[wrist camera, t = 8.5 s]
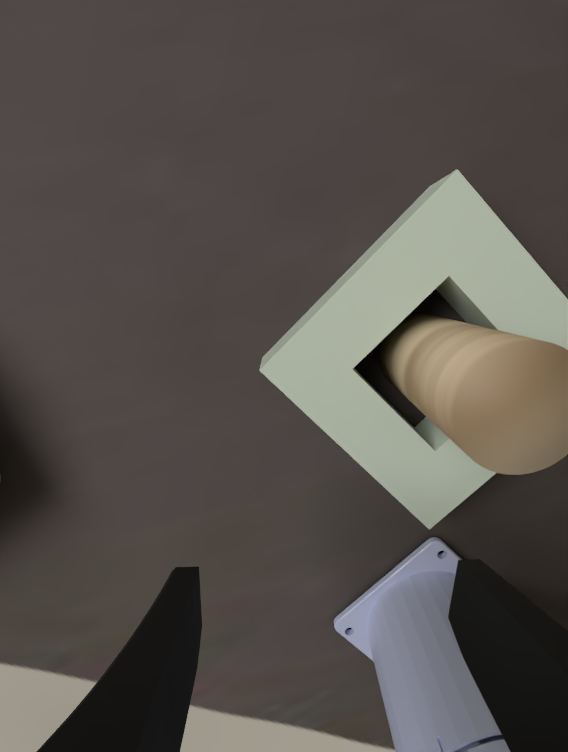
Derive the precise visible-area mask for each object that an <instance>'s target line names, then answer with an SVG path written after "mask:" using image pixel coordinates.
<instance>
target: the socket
mask: <svg viewBox="0 0 568 752" xmlns="http://www.w3.org/2000/svg"><path fill="white" fill-rule="evenodd" d="M435 289H436V290H437V291H438V292H439V293H440V294H441V295H442V297H443V298H444V299H445V300H446V301H447V302H448V303H449V304H450V305H451V306H452V307H453V309H454V310H455V311H456V312H457V313H458V314H459V315H460V316H461V317H462V318H463V319H464V320H465V322H466V323H469V324H473V325H478V326H482V327H486V328H490V329H495V330H499V331H503V332H507V333H512V334H516V335H520V336H524V337H529V338H533V339H537V340H541V341H546V342H550V343H553V344H556V345H559V346H561V347H563V348H565V349H567V350H568V299H567V298H566V297H565V296H564V295H563V293H562V292H561V291H560V290H559V289H558V287H557V286H556V285H555V284H554V283H553V282H552V280H551V279H550V278H549V277H548V276H547V274H546V273H545V272H544V271H543V270H542V269H541V267H540V266H539V265H538V264H537V263H536V262H535V260H534V259H533V258H532V257H531V256H530V254H529V253H528V252H527V251H526V250H525V249H524V247H523V246H522V245H521V244H520V243H519V241H518V240H517V239H516V238H515V237H514V236H513V234H512V233H511V232H510V231H509V230H508V229H507V227H506V226H505V225H504V224H503V223H502V221H501V220H500V219H499V218H498V217H497V216H496V214H495V213H494V212H493V211H492V210H491V208H490V207H489V206H488V205H487V204H486V203H485V201H484V200H483V199H482V198H481V197H480V196H479V194H478V193H477V192H476V191H475V190H474V188H473V187H472V186H471V185H470V184H469V183H468V181H467V180H466V179H465V178H464V177H463V175H462V174H461V173H460V172H459V171H458V170H455V171H454V172H452V173H450V174H449V175H447V176H446V177H444V178H442V179H441V180H439V181H438V182H436V183H434V184H433V185H431V186H430V187H429V188H428V189H427V190H426V191H425V192H424V193H423V194H422V195H421V196H420V197H419V198H418V199H417V200H416V201H415V202H414V203H413V204H412V205H411V206H410V207H409V208H408V209H407V210H406V211H405V212H404V213H403V214H402V215H401V216H400V217H399V218H398V219H397V220H396V221H395V222H394V223H393V224H392V225H391V226H390V227H389V228H388V230H387V231H386V232H385V233H384V234H383V235H382V236H381V237H380V238H379V239H378V240H377V241H376V242H375V243H374V244H373V245H372V246H371V247H370V248H369V249H368V250H367V251H366V252H365V253H364V254H363V255H362V256H361V257H360V258H359V259H358V260H357V261H356V262H355V263H354V264H353V265H352V266H351V267H350V268H349V269H348V270H347V271H346V272H345V273H344V275H343V276H342V277H341V278H340V279H339V280H338V281H337V282H336V283H335V284H334V285H333V286H332V287H331V288H330V289H329V290H328V291H327V292H326V293H325V294H324V295H323V296H322V297H321V298H320V299H319V300H318V301H317V302H316V303H315V304H314V305H313V306H312V307H311V308H310V309H309V310H308V311H307V312H306V313H305V314H304V315H303V316H302V317H301V319H300V320H299V321H298V322H297V323H296V324H295V325H294V326H293V327H292V328H291V329H290V330H289V331H288V332H287V333H286V334H285V335H284V336H283V337H282V338H281V339H280V340H279V341H278V342H277V343H276V344H275V345H274V346H273V347H272V348H271V349H270V350H269V351H268V352H267V353H266V354H265V355H264V356H263V357H262V362H261V366H260V370H259V371H260V372H262V373H263V374H264V375H265V376H266V377H267V378H268V379H269V380H270V381H271V382H272V383H273V384H274V385H275V386H277V387H278V388H279V389H280V390H281V391H282V392H283V393H284V394H285V395H286V396H287V397H288V398H289V399H290V400H291V401H293V402H294V403H295V404H296V405H297V406H298V407H299V408H300V409H301V410H302V411H303V412H304V413H305V414H306V415H307V416H309V417H310V418H311V419H312V420H313V421H314V422H315V423H316V424H317V425H318V426H319V427H320V428H321V429H322V430H323V431H325V432H326V433H327V434H328V435H329V436H330V437H331V438H332V439H333V440H334V441H335V442H336V443H337V444H338V445H339V446H341V447H342V448H343V449H344V450H345V451H346V452H347V453H348V454H349V455H350V456H351V457H352V458H353V459H354V460H355V461H357V462H358V463H359V464H360V465H361V466H362V467H363V468H364V469H365V470H366V471H367V472H368V473H369V474H370V475H371V476H373V477H374V478H375V479H376V480H377V481H378V482H379V483H380V484H381V485H382V486H383V487H384V488H385V489H386V490H388V491H389V492H390V493H391V494H392V495H393V496H394V497H395V498H396V499H397V500H398V501H399V502H400V503H401V504H402V505H404V506H405V507H406V508H407V509H408V510H409V511H410V512H411V513H412V514H413V515H414V516H415V517H416V518H417V519H418V520H420V521H421V522H422V523H423V524H424V525H425V526H426V527H427V528H428V529H429V530H430V529H431V528H432V527H433V526H434V525H435V524H437V523H438V522H439V521H440V520H441V519H443V518H444V517H445V516H446V515H447V514H448V513H450V512H451V511H452V510H453V509H454V508H456V507H457V506H458V505H459V504H460V503H461V502H463V501H464V500H465V499H466V498H467V497H469V496H470V495H471V494H472V493H473V492H474V491H476V490H477V489H478V488H479V487H480V486H482V485H483V484H484V483H485V482H486V481H487V480H489V479H490V478H491V477H492V476H493V475H495V474H496V472H493V471H490V470H488V469H486V468H484V467H482V466H480V465H479V464H477V463H476V462H474V461H473V460H472V459H471V458H470V457H469V456H468V455H467V454H466V453H465V452H463V451H462V450H461V449H460V448H459V447H458V446H457V445H456V444H455V443H454V442H453V441H452V440H451V439H450V438H449V437H448V436H446V435H445V434H444V433H443V432H442V431H441V430H440V429H439V428H438V427H437V426H436V425H435V424H434V423H433V422H432V421H431V420H430V419H428V418H427V417H425V418H424V419H423V420H422V421H421V422H420V423H419V424H418V425H417V426H415V427H413V426H412V425H411V424H410V423H409V422H408V421H407V420H406V419H405V418H404V417H403V416H402V415H401V414H400V413H399V412H398V411H397V410H396V409H395V408H394V407H393V406H392V405H391V404H390V403H389V402H388V401H387V400H386V399H385V398H384V397H383V396H382V395H381V394H380V393H379V392H378V391H377V390H376V389H375V388H374V387H373V386H372V385H371V384H370V383H369V382H368V381H367V380H366V379H365V378H364V377H363V376H362V375H361V374H360V373H359V372H358V371H356V370H355V369H354V367H355V366H356V365H357V364H358V363H359V362H360V361H361V360H362V359H363V358H364V357H366V356H367V355H368V354H369V353H370V352H371V351H372V350H373V349H374V348H375V347H376V346H377V345H378V344H379V343H380V342H381V341H382V340H383V339H384V338H385V337H386V336H387V335H388V334H389V333H390V332H391V331H392V330H393V329H394V328H395V327H397V326H398V325H399V324H400V323H401V322H402V321H403V320H404V319H405V318H406V317H407V316H408V315H409V314H410V313H411V312H412V311H413V310H414V309H415V308H416V307H417V306H418V305H419V304H420V303H421V302H422V301H423V300H424V299H425V298H427V297H428V296H429V295H430V294H431V293H432V292H433V291H434V290H435Z"/></svg>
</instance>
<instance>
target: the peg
mask: <svg viewBox="0 0 568 752" xmlns="http://www.w3.org/2000/svg"><path fill="white" fill-rule="evenodd" d="M380 365H381V369H382V371H383V373H384V375H385V377H386V378H387V379H388V381H389V382H390V383H391V384H392V385H394V386H395V387H396V388H397V389H398V390H399V391H400V392H401V393H402V394H403V395H404V396H405V397H406V398H407V399H408V400H409V401H410V402H412V403H413V404H414V405H415V406H416V407H417V408H418V409H419V410H420V411H421V412H422V413H423V414H424V415H425V416H426V417H427V418H428V419H430V420H431V421H432V422H433V423H434V424H435V425H436V426H437V427H438V428H439V429H440V430H441V431H442V432H443V433H444V434H445V435H446V436H448V437H449V438H450V439H451V440H452V441H453V442H454V443H455V444H456V445H457V446H458V447H459V448H460V449H461V450H462V451H463V452H465V453H466V454H467V455H468V456H469V457H470V458H471V459H472V460H473V461H474V462H476V463H477V464H479V465H480V466H482V467H484V468H486V469H488V470H490V471H493V472H496V473H501V474H507V475H521V474H528V473H533V472H536V471H540V470H542V469H545V468H547V467H549V466H551V465H553V464H555V463H557V462H558V461H560V460H561V459H562V458H564V457H565V456H566V455H567V454H568V350H567V349H565V348H563V347H561V346H559V345H556V344H553V343H550V342H546V341H541V340H537V339H533V338H529V337H524V336H520V335H516V334H512V333H507V332H503V331H499V330H495V329H490V328H486V327H482V326H478V325H473V324H469V323H465V322H460V321H456V320H452V319H448V318H443V317H439V316H435V315H430V314H415V315H411V316H408V317H406V318H405V319H404V320H403V321H402V322H401V323H400V324H399V325H398V326H397V327H395V328H394V329H393V330H392V331H391V332H390V333H389V334H388V335H387V336H386V337H385V338H384V339H383V341H382V344H381V348H380Z"/></svg>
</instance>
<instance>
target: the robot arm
mask: <svg viewBox="0 0 568 752" xmlns="http://www.w3.org/2000/svg"><path fill="white" fill-rule="evenodd" d="M440 551H444V552H443V553H442V554H438V552H440ZM334 627H335V630H336V631H337V632H338V633H340V634H341V635H342V636H343V637H344V638H346V639H347V640H348V641H349V642H350V643H352V644H353V645H354V646H355V647H357V648H358V649H359V650H360V651H361V652H363V653H364V654H365V655H366V656H367V657H369V658H370V659H371V660H372V661H373V662H374V664H375V668H376V673H377V677H378V681H379V685H380V689H381V693H382V697H383V701H384V705H385V709H386V714H387V718H388V722H389V726H390V730H391V734H392V738H393V742H394V746H395V751H396V752H568V630H566V629H565V628H564V627H562V626H561V625H560V624H558V623H557V622H556V621H555V620H553V619H552V618H551V617H550V616H548V615H547V614H546V613H545V612H543V611H542V610H541V609H540V608H538V607H537V606H536V605H535V604H533V603H532V602H531V601H530V600H529V599H527V598H526V597H525V596H524V595H522V594H521V593H520V592H519V591H518V590H516V589H515V588H514V587H513V586H512V585H510V584H509V583H508V582H507V581H505V580H504V579H503V578H502V577H501V576H499V575H498V574H497V573H496V572H495V571H493V570H492V569H491V568H490V567H488V566H487V565H486V564H484V563H483V562H482V561H481V560H479V559H478V560H462V559H461V558H460V557H459V556H458V555H457V554H456V553H455V552H454V551H453V550H452V549H450V548H449V547H448V546H447V545H446V544H445V543H444V542H443V541H442V540H441V539H439V538H437V537H433V538H430V539H428V540H427V541H426V542H424V543H423V544H422V545H421V546H420V547H418V548H417V549H416V550H415V551H414V552H413V553H411V554H410V555H409V556H408V557H407V558H405V559H404V560H403V561H402V562H401V563H399V564H398V565H397V566H396V567H395V568H394V569H392V570H391V571H390V572H389V573H388V574H386V575H385V576H384V577H383V578H382V579H380V580H379V581H378V582H377V583H376V584H375V585H373V586H372V587H371V588H370V589H369V590H367V591H366V592H365V593H364V594H363V595H361V596H360V597H359V598H358V599H357V600H356V601H354V602H353V603H352V604H351V605H350V606H348V607H347V608H346V609H345V610H344V611H342V612H341V613H340V614H339V615H338V616H337V617H336V618H335V619H334ZM347 628H351V629H350V630H346V629H347ZM201 629H202V618H201V599H200V580H199V567H176V568H175V569H174V570H173V571H172V572H171V574H170V576H169V578H168V579H167V581H166V583H165V585H164V587H163V588H162V590H161V592H160V593H159V595H158V597H157V598H156V600H155V602H154V603H153V605H152V606H151V608H150V610H149V611H148V613H147V614H146V616H145V617H144V619H143V620H142V622H141V623H140V625H139V626H138V628H137V629H136V631H135V632H134V634H133V635H132V637H131V638H130V639H129V641H128V642H127V644H126V645H125V646H124V648H123V649H122V650H121V652H120V653H119V654H118V656H117V657H116V658H115V660H114V661H113V662H112V664H111V665H110V667H109V668H108V669H107V671H106V672H105V673H104V674H103V676H102V677H101V678H100V680H99V681H98V682H97V683H96V685H95V686H94V687H93V688H92V690H91V691H90V692H89V693H88V695H87V696H86V697H85V698H84V699H83V700H82V702H81V703H80V704H79V705H78V706H77V707H76V709H75V710H74V711H73V712H72V713H71V714H70V716H69V717H68V718H67V719H66V720H65V721H64V722H63V723H62V725H61V726H60V727H59V728H58V729H57V730H56V731H55V732H54V734H52V736H51V737H50V738H49V739H48V740H47V741H46V742H45V743H44V745H42V747H41V748H40V749H39V750H38V751H37V752H180V748H181V743H182V738H183V733H184V729H185V724H186V719H187V714H188V710H189V705H190V700H191V695H192V691H193V686H194V681H195V676H196V671H197V665H198V656H199V648H200V638H201Z"/></svg>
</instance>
